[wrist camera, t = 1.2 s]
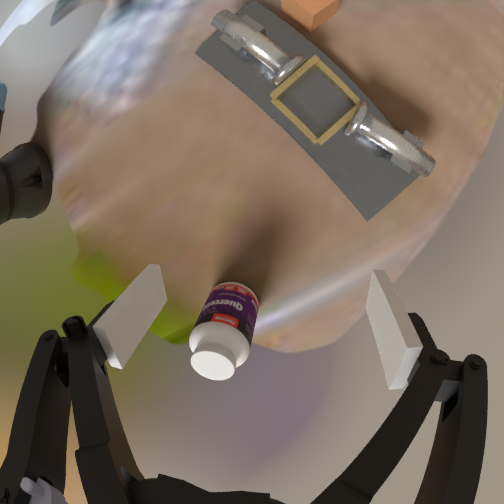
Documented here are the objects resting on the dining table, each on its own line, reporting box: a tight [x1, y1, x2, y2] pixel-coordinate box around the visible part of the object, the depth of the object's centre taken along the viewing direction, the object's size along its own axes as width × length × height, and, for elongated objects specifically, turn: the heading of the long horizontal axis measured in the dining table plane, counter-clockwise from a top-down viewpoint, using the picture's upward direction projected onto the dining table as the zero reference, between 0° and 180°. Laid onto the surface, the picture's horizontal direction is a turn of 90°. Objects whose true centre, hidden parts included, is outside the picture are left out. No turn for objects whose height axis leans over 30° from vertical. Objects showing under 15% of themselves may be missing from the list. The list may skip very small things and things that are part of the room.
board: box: [195, 0, 421, 221], centre depth 28 cm, size 32×11×4 cm, turn 46°
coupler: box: [281, 0, 341, 32], centre depth 22 cm, size 5×5×6 cm
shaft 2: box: [343, 99, 436, 177], centre depth 27 cm, size 11×5×6 cm, turn 66°
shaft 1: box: [211, 9, 307, 87], centre depth 25 cm, size 11×5×6 cm, turn 46°
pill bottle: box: [189, 282, 259, 380], centre depth 38 cm, size 8×8×14 cm
